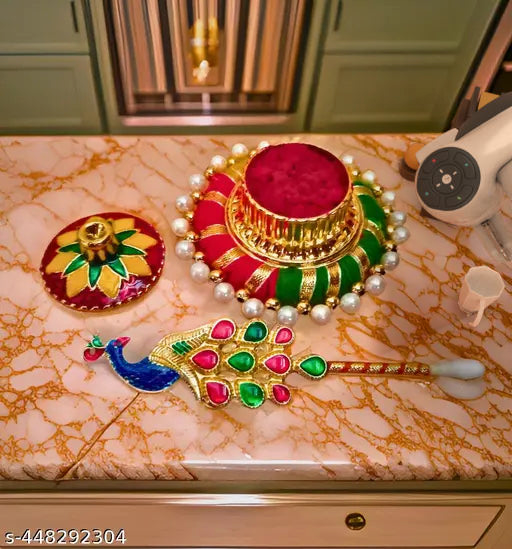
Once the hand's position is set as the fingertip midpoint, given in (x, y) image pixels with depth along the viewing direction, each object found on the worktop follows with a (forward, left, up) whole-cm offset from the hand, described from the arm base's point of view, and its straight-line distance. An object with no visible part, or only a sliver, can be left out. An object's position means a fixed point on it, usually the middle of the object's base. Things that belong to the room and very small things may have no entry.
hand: (479, 202), depth 89 cm
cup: (-3, +7, -25) cm, 26 cm away
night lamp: (-13, -27, -25) cm, 39 cm away
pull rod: (-10, -13, 0) cm, 16 cm away
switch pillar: (-13, -16, -25) cm, 32 cm away
